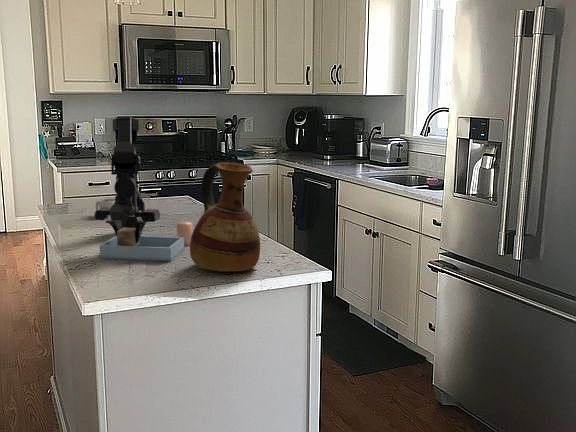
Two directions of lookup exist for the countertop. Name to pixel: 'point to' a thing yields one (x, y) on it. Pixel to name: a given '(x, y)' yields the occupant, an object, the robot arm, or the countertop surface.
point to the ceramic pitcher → (225, 223)
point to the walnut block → (127, 237)
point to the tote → (144, 249)
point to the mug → (104, 203)
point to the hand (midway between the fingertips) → (128, 242)
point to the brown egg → (185, 231)
